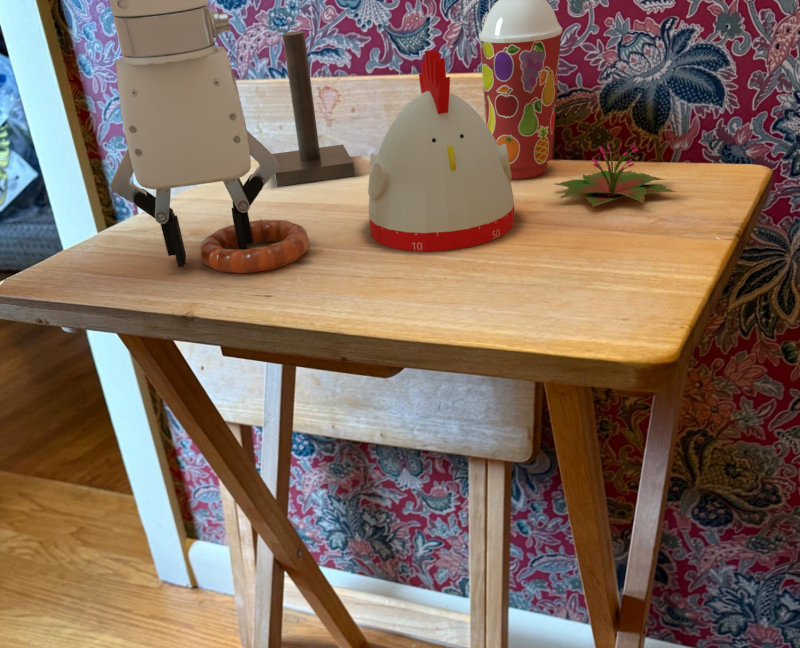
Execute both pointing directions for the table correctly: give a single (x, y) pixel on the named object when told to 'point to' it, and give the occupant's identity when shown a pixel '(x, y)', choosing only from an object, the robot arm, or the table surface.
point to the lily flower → (614, 182)
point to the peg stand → (307, 127)
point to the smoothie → (521, 81)
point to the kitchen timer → (439, 173)
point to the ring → (257, 259)
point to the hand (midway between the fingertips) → (212, 255)
